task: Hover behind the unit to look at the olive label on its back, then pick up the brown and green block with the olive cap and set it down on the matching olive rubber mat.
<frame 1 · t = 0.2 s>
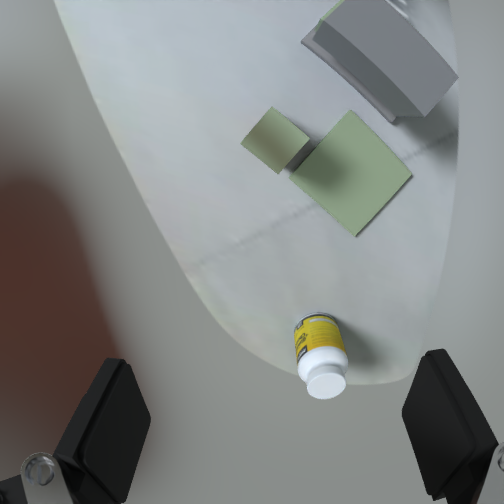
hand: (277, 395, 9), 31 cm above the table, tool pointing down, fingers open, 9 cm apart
brown and green block: (272, 136, 35), on the table
pill bottle: (315, 328, 45), on the table
mounted unit: (362, 64, 31), on the table
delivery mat: (352, 174, 36), on the table
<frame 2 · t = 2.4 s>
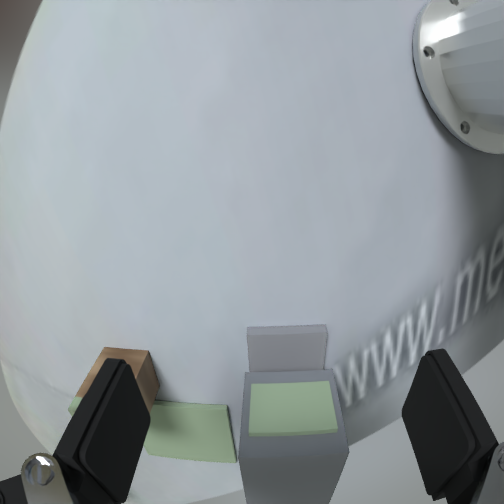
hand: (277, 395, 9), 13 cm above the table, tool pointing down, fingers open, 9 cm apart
brown and green block: (132, 367, 27), on the table
mounted unit: (285, 387, 27), on the table
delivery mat: (182, 432, 31), on the table
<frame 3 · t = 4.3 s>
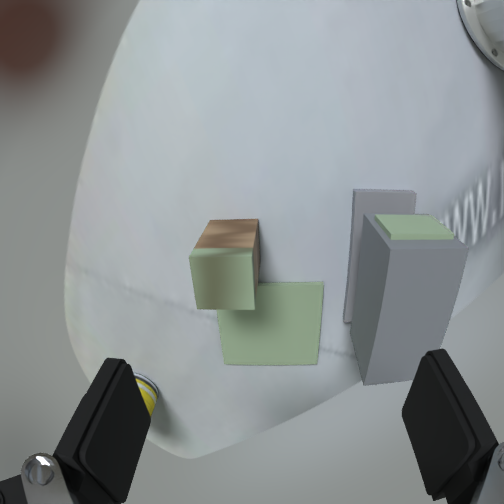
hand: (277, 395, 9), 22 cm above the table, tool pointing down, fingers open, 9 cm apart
brown and green block: (235, 241, 31), on the table
pill bottle: (138, 384, 42), on the table
mounted unit: (377, 258, 30), on the table
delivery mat: (269, 325, 35), on the table
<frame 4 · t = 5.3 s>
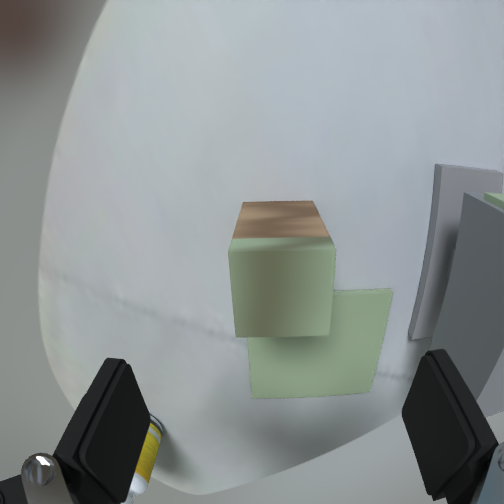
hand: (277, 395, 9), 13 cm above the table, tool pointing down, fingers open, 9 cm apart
brown and green block: (278, 234, 21), on the table
pill bottle: (137, 419, 31), on the table
mounted unit: (455, 256, 21), on the table
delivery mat: (316, 348, 25), on the table
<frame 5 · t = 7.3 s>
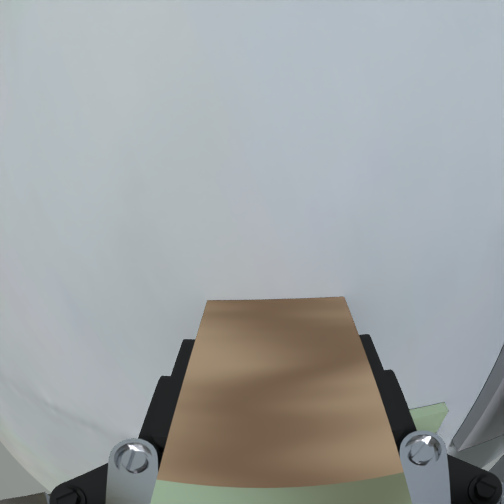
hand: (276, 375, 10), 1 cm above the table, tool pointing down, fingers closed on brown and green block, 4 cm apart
brown and green block: (276, 351, 11), on the table, touching gripper
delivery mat: (327, 471, 15), on the table
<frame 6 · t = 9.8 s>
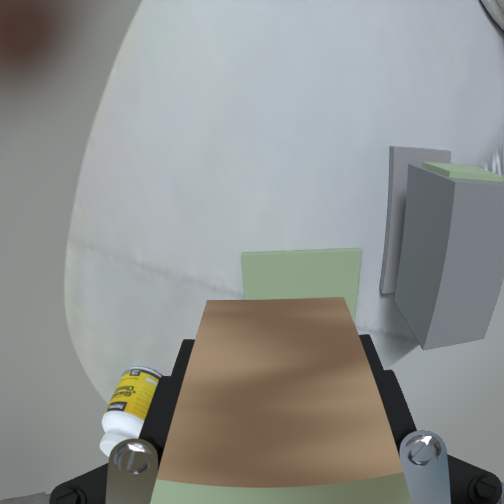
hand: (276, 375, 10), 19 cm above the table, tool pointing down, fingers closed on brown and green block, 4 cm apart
brown and green block: (276, 351, 11), point 18 cm above the table, touching gripper
pill bottle: (147, 381, 37), on the table
mounted unit: (414, 221, 28), on the table
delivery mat: (301, 302, 31), on the table
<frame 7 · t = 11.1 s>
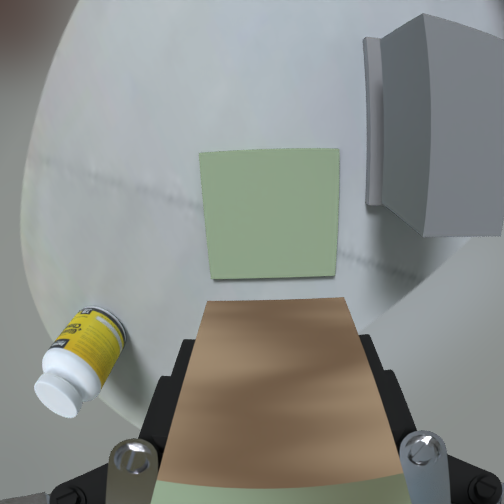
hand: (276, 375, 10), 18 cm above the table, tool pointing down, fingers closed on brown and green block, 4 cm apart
brown and green block: (276, 352, 11), point 17 cm above the table, touching gripper
pill bottle: (102, 327, 33), on the table
mounted unit: (399, 122, 23), on the table
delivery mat: (271, 215, 27), on the table
when the fingers open (3 cm above the table, at t = 14.0 s): brown and green block drops 1 cm, resting on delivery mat.
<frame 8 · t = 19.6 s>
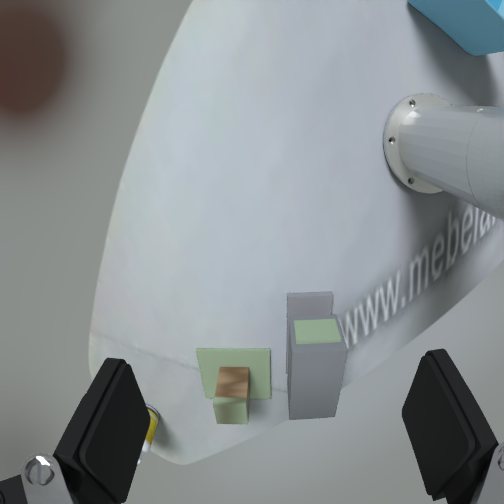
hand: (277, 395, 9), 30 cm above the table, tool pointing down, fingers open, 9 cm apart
brown and green block: (235, 376, 48), point 1 cm above the table, touching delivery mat
pill bottle: (144, 410, 55), on the table
data package: (443, 18, 27), on the table
mounted unit: (307, 334, 45), on the table
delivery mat: (235, 374, 49), on the table
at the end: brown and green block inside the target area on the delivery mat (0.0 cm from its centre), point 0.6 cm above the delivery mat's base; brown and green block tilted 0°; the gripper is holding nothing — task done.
